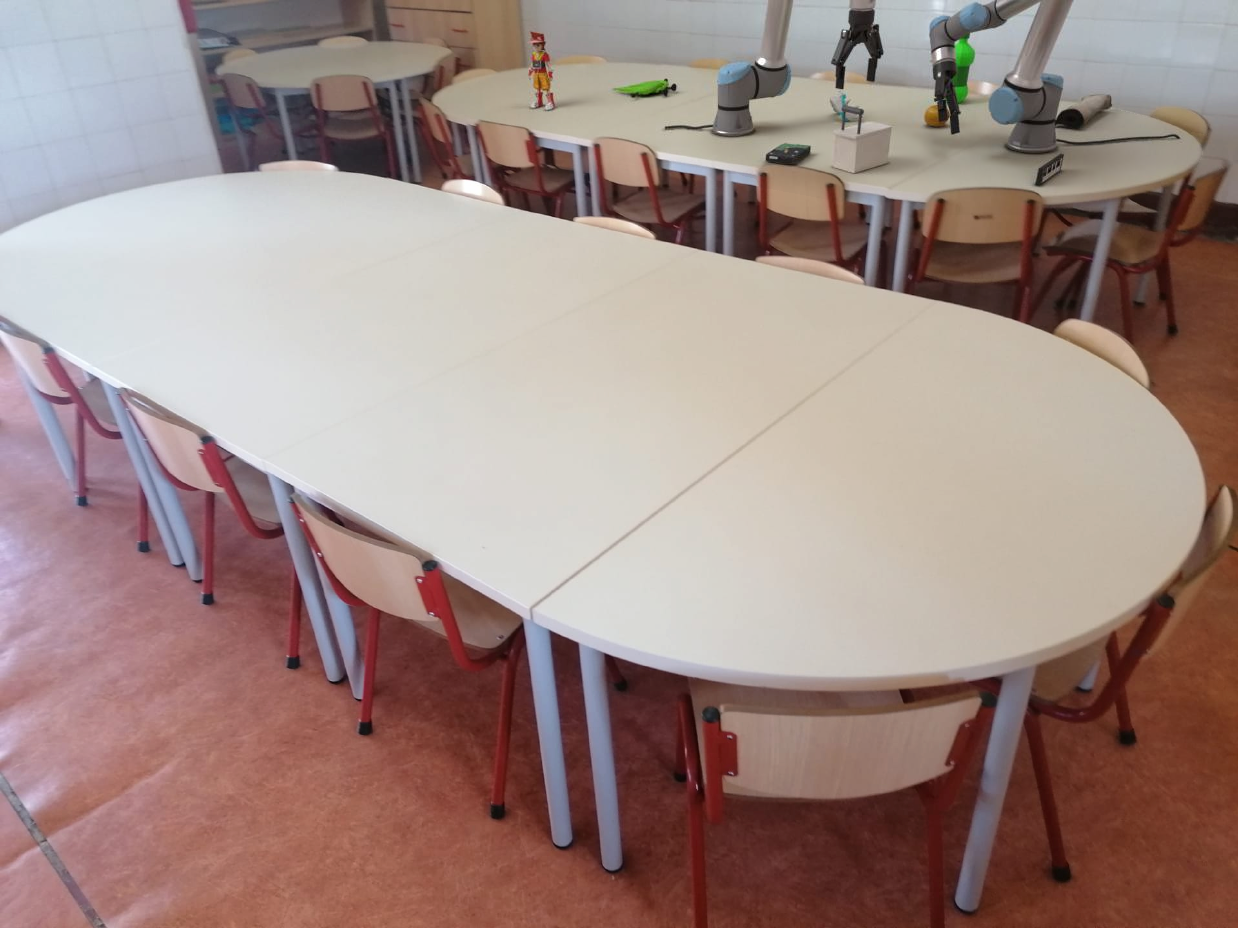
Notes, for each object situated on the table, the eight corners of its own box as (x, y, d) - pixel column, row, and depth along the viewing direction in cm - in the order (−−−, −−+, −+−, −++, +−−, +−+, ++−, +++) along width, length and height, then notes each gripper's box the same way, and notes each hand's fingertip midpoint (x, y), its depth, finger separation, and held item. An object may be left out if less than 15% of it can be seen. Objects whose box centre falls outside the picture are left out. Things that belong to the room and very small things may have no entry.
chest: (854, 173, 288) (857, 139, 282) (832, 167, 295) (835, 133, 289) (887, 163, 295) (891, 129, 289) (866, 157, 302) (869, 124, 296)
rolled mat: (1079, 99, 336) (1104, 81, 328) (1092, 119, 337) (1117, 102, 329) (1048, 120, 319) (1073, 103, 311) (1062, 142, 319) (1088, 125, 311)
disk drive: (793, 166, 298) (810, 153, 308) (794, 157, 296) (811, 145, 306) (765, 162, 303) (782, 150, 313) (765, 154, 301) (783, 142, 311)
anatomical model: (825, 90, 346) (850, 83, 345) (827, 117, 352) (853, 110, 351) (835, 99, 333) (862, 92, 333) (838, 127, 339) (864, 120, 338)
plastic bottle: (973, 101, 354) (984, 32, 339) (955, 106, 349) (966, 36, 335) (952, 97, 361) (962, 29, 346) (934, 102, 356) (944, 33, 342)
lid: (855, 139, 282) (858, 111, 277) (833, 134, 289) (835, 106, 284) (891, 129, 289) (894, 101, 284) (869, 124, 296) (872, 97, 291)
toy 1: (525, 109, 381) (517, 32, 364) (534, 104, 388) (527, 28, 371) (550, 110, 377) (543, 32, 360) (559, 105, 384) (553, 28, 367)
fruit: (919, 118, 325) (933, 97, 322) (920, 121, 333) (934, 101, 330) (938, 130, 323) (953, 110, 320) (939, 133, 331) (953, 114, 328)
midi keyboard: (1039, 185, 269) (1043, 168, 266) (1035, 184, 270) (1038, 168, 267) (1060, 170, 279) (1064, 154, 277) (1056, 169, 280) (1060, 153, 277)
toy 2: (686, 85, 398) (631, 84, 414) (685, 72, 395) (629, 72, 411) (651, 104, 381) (596, 103, 397) (650, 92, 378) (594, 91, 394)
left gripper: (841, 16, 258) (835, 94, 270) (900, 4, 269) (892, 80, 281) (822, 13, 263) (817, 90, 275) (881, 2, 274) (874, 76, 286)
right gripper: (944, 82, 311) (949, 141, 310) (920, 55, 291) (926, 118, 289) (966, 75, 306) (971, 135, 305) (944, 46, 286) (949, 111, 285)
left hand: (855, 85), depth 278 cm, fingers open, 13 cm apart
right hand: (949, 127), depth 297 cm, fingers open, 13 cm apart
